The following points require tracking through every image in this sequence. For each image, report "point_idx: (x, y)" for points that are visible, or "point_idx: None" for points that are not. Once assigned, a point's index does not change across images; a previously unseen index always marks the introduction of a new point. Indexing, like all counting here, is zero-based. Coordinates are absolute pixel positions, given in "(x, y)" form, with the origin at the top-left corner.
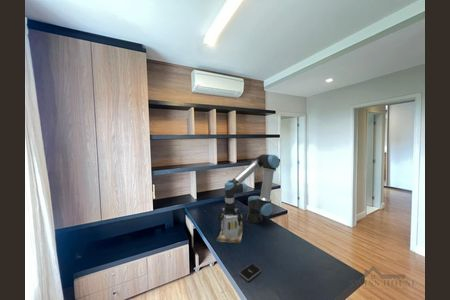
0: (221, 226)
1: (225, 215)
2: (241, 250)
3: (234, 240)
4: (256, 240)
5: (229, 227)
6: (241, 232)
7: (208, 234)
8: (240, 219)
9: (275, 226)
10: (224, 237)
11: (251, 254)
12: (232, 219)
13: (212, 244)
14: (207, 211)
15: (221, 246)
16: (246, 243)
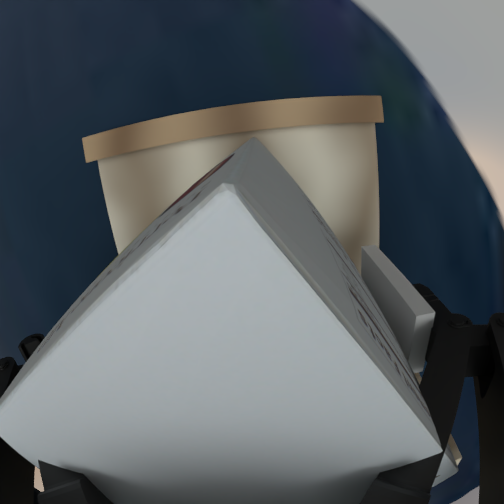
0: None
1: (387, 440)
2: (69, 42)
3: (147, 121)
4: (8, 241)
5: (200, 179)
6: None
7: (477, 213)
8: (1, 378)
9: None
10: (302, 176)
11: (4, 44)
12: (66, 312)
13: (388, 38)
14: (472, 466)
15: (280, 20)
16: (52, 164)
